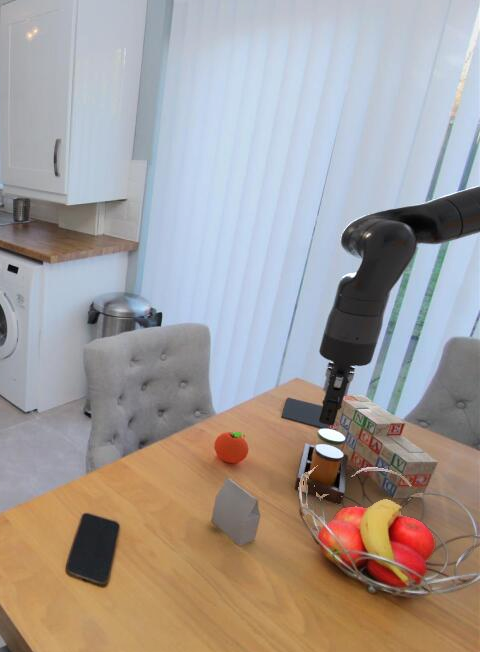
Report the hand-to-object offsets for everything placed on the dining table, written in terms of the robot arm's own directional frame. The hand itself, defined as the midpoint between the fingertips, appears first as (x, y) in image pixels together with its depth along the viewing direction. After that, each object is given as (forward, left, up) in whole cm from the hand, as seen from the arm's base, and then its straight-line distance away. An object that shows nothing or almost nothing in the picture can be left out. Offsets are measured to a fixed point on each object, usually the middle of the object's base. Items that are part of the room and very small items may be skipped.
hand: (328, 412), depth 90 cm
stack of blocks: (-11, -23, -22) cm, 33 cm away
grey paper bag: (+10, +16, -22) cm, 29 cm away
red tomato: (+15, -7, -22) cm, 27 cm away
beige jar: (-2, -15, -22) cm, 26 cm away
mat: (+1, -39, -22) cm, 45 cm away
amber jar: (-2, -8, -22) cm, 23 cm away
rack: (-2, -11, -22) cm, 25 cm away
